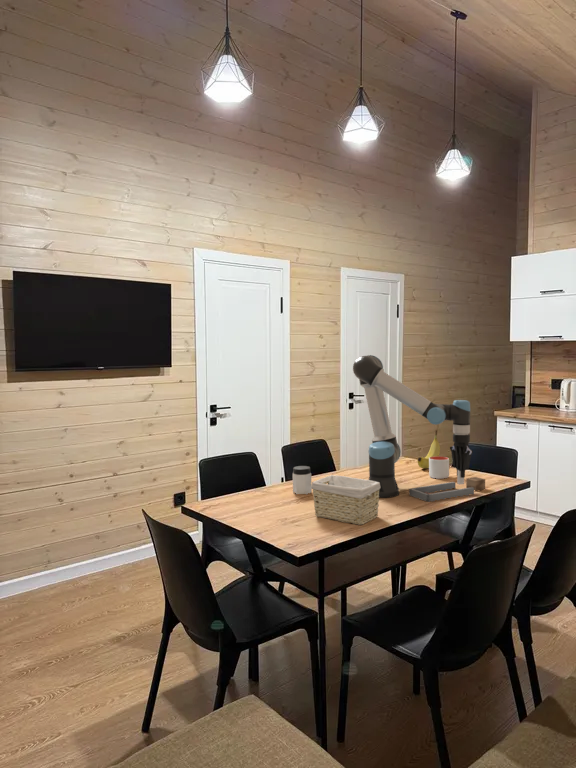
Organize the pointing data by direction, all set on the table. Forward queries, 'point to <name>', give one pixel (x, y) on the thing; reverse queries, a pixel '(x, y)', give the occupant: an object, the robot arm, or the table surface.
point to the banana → (430, 453)
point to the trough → (425, 492)
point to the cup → (439, 467)
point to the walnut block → (475, 483)
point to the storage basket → (346, 499)
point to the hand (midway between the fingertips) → (460, 483)
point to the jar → (302, 480)
